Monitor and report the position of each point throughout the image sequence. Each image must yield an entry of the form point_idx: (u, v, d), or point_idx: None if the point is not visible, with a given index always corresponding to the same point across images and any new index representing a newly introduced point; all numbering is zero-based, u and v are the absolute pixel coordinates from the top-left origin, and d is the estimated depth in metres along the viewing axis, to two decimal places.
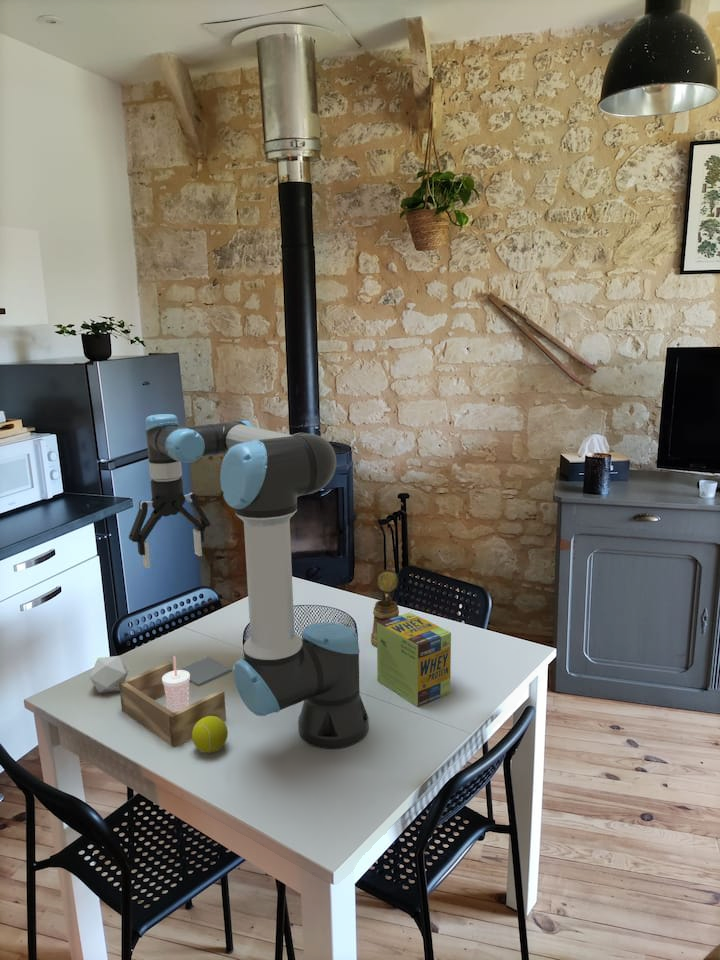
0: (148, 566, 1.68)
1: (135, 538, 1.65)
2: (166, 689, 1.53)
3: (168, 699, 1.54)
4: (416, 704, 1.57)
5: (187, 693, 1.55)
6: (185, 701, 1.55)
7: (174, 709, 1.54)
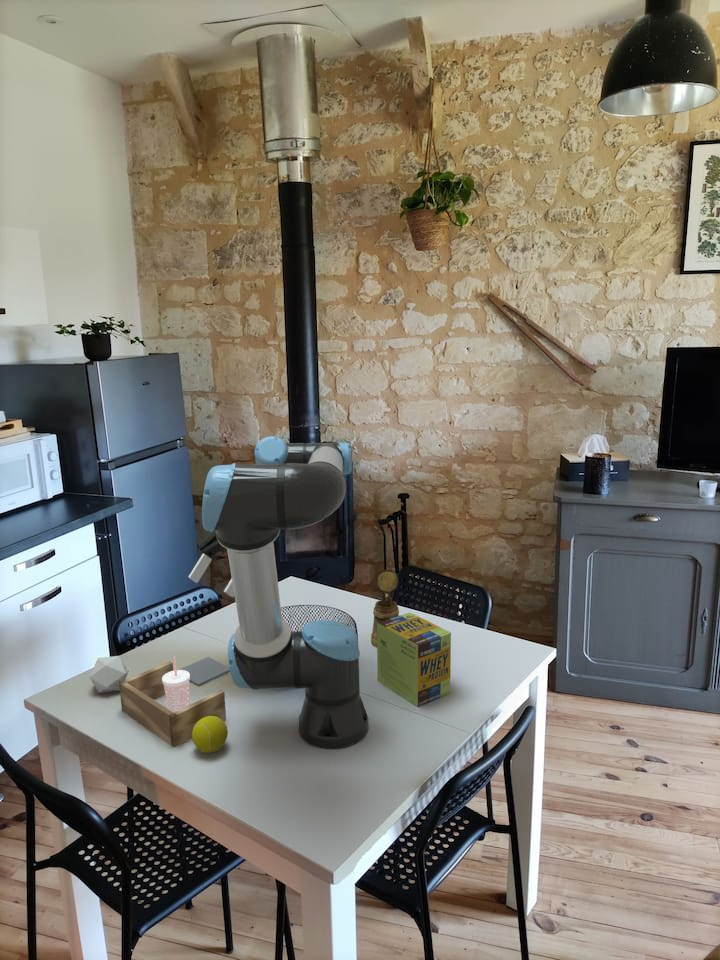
0: (189, 575, 1.62)
1: (201, 546, 1.67)
2: (166, 689, 1.53)
3: (168, 699, 1.54)
4: (416, 704, 1.57)
5: (187, 693, 1.55)
6: (185, 701, 1.55)
7: (174, 709, 1.54)
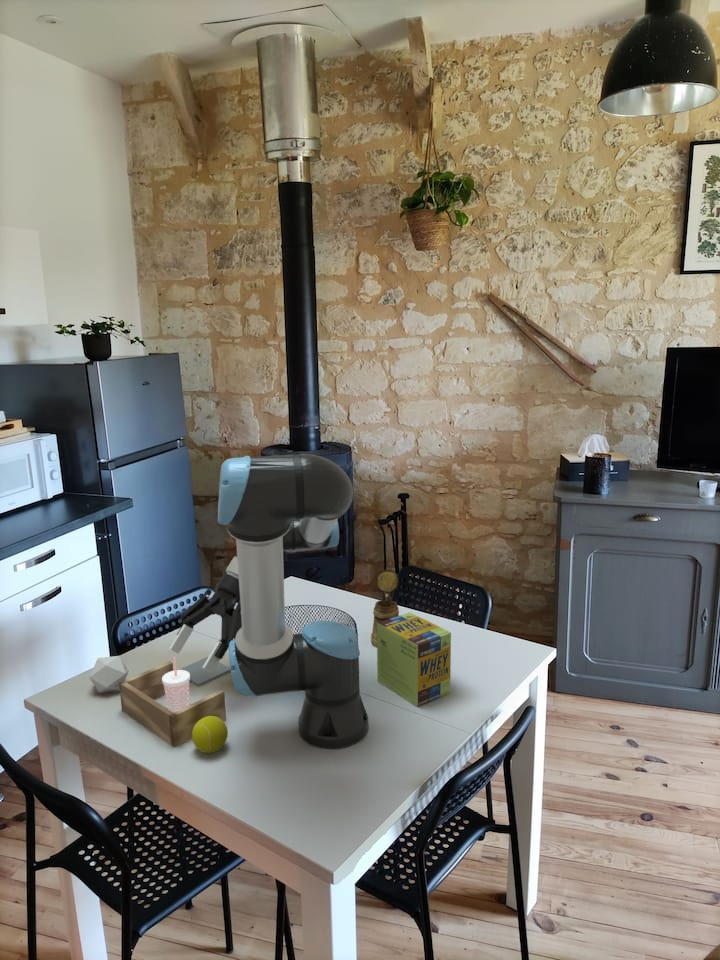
0: (170, 647, 1.63)
1: (182, 615, 1.67)
2: (166, 689, 1.53)
3: (168, 699, 1.54)
4: (416, 704, 1.57)
5: (187, 693, 1.55)
6: (185, 701, 1.55)
7: (174, 709, 1.54)
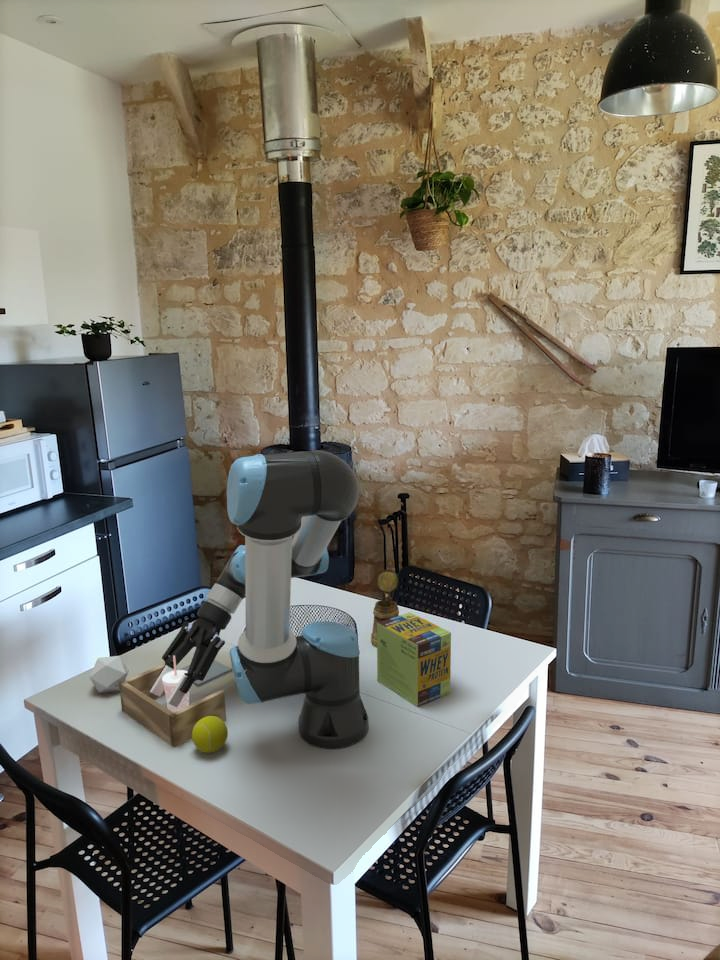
0: (151, 690, 1.55)
1: (164, 655, 1.59)
2: (166, 689, 1.53)
3: None
4: (416, 704, 1.57)
5: (187, 693, 1.55)
6: (185, 701, 1.55)
7: (174, 709, 1.54)
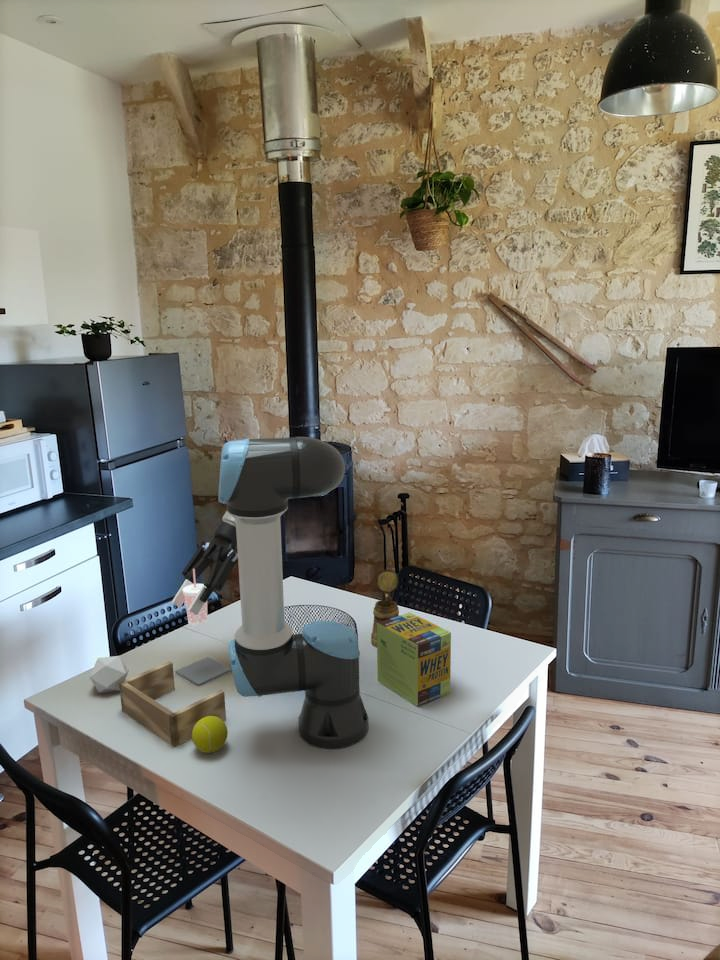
0: (173, 600, 1.69)
1: (184, 571, 1.73)
2: (186, 599, 1.67)
3: None
4: (416, 704, 1.57)
5: (205, 603, 1.69)
6: (204, 611, 1.69)
7: (194, 617, 1.68)
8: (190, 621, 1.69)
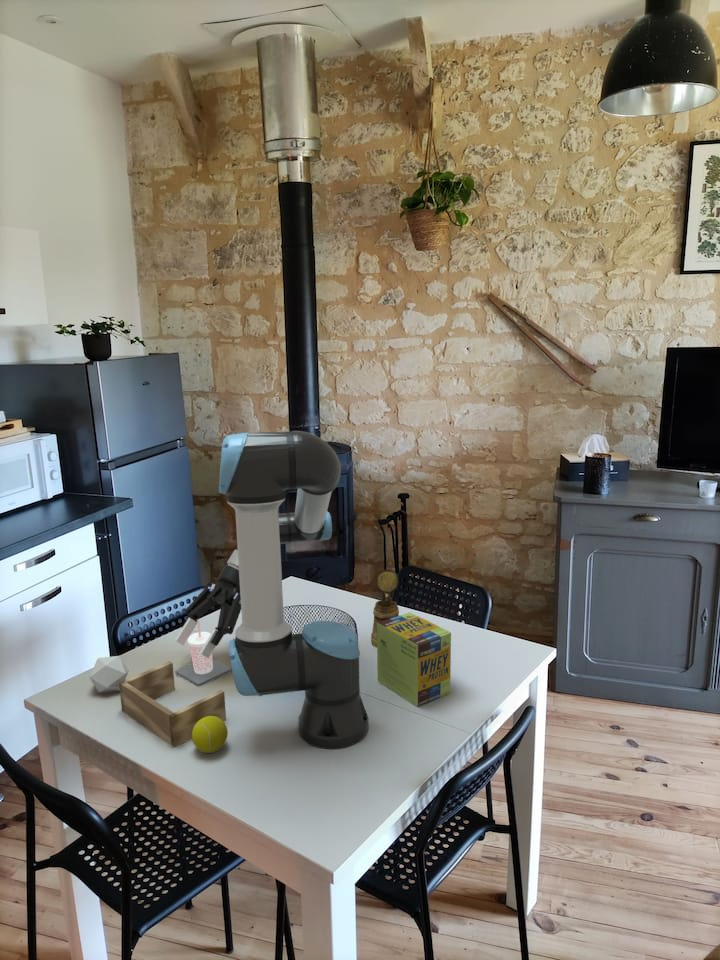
0: (176, 639, 1.74)
1: (187, 609, 1.78)
2: (191, 649, 1.71)
3: (194, 658, 1.71)
4: (416, 704, 1.57)
5: None
6: (209, 659, 1.72)
7: (199, 666, 1.72)
8: (196, 669, 1.73)
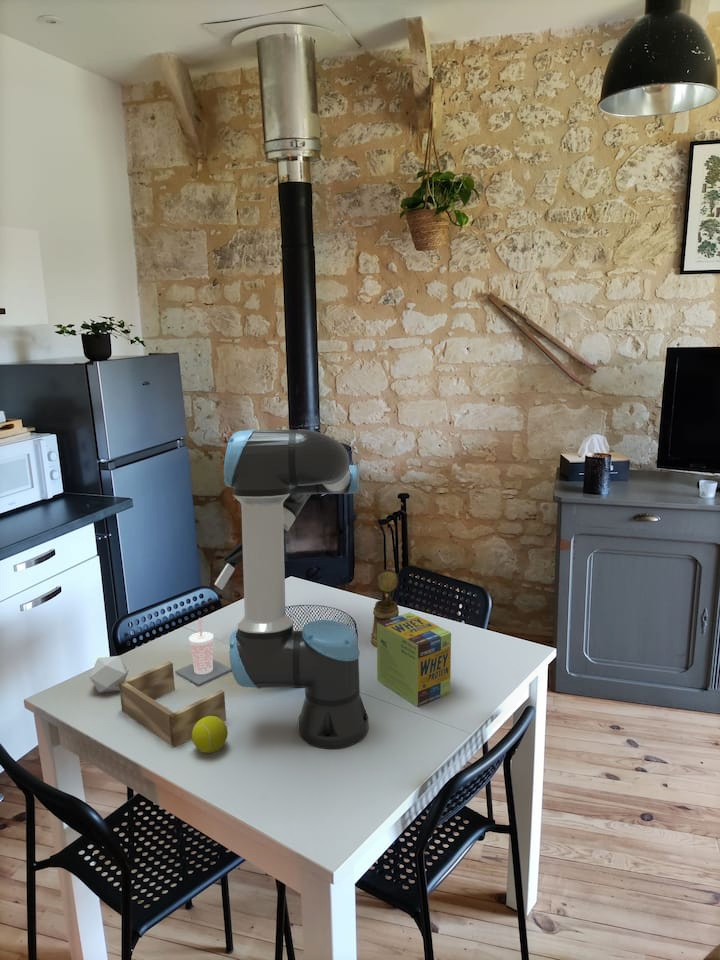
0: (215, 582, 1.83)
1: (225, 556, 1.88)
2: (192, 648, 1.71)
3: (194, 657, 1.72)
4: (416, 704, 1.57)
5: (211, 652, 1.73)
6: (209, 659, 1.73)
7: (199, 666, 1.72)
8: (196, 669, 1.73)
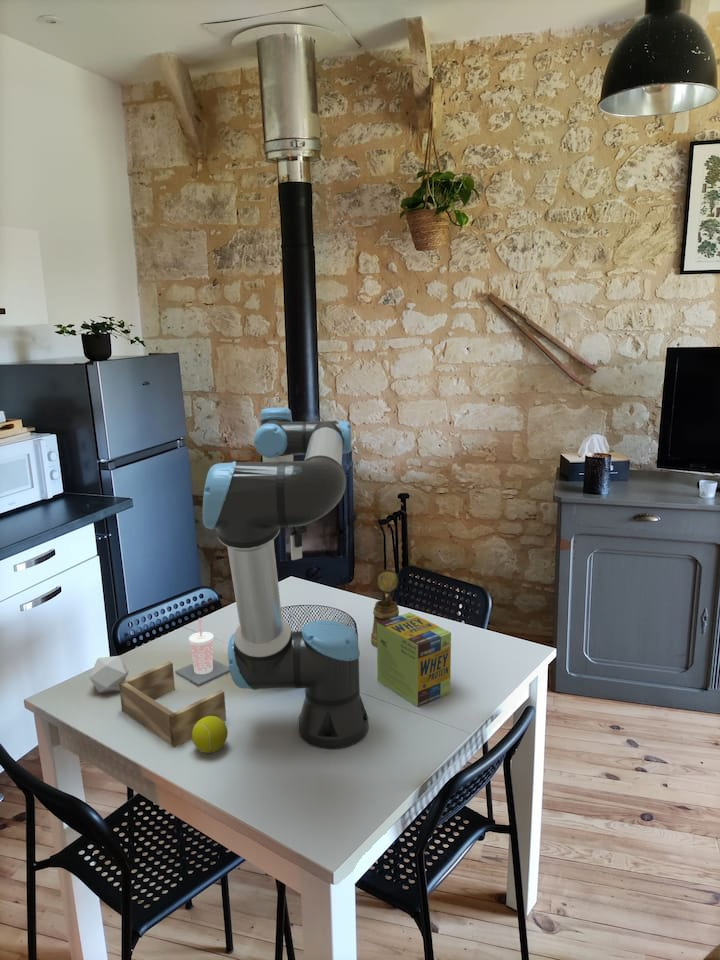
0: None
1: None
2: (192, 648, 1.71)
3: (194, 657, 1.72)
4: (416, 704, 1.57)
5: (211, 652, 1.73)
6: (209, 659, 1.73)
7: (199, 666, 1.72)
8: (196, 669, 1.73)
